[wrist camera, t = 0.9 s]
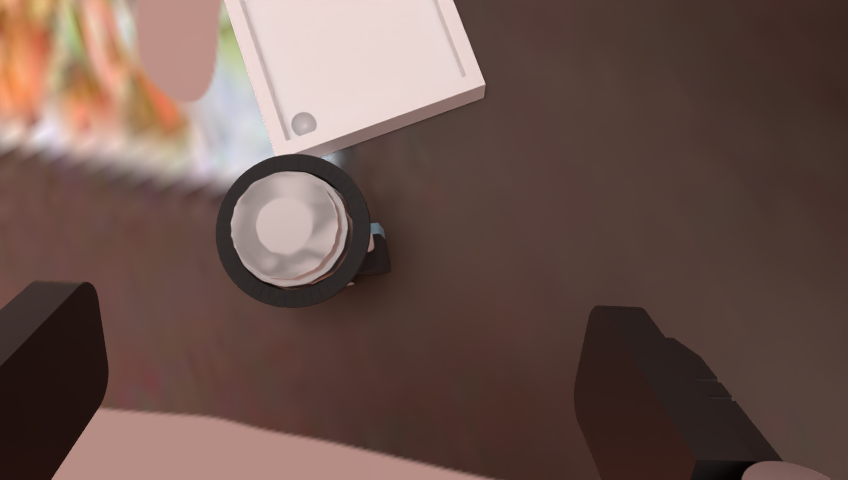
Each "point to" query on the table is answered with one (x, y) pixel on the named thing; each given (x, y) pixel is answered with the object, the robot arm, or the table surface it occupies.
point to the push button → (297, 232)
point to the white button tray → (352, 67)
